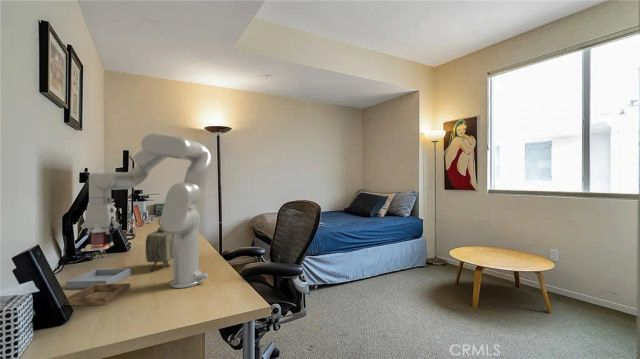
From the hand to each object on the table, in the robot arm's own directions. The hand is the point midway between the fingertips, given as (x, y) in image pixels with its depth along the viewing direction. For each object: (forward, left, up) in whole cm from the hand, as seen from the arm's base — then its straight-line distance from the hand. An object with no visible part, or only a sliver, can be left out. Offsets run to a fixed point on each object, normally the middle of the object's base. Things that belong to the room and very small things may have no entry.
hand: (100, 242), depth 120 cm
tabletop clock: (-17, -19, -17) cm, 31 cm away
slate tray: (0, 0, -17) cm, 17 cm away
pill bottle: (0, 0, -3) cm, 3 cm away
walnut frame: (-12, +17, -17) cm, 27 cm away
